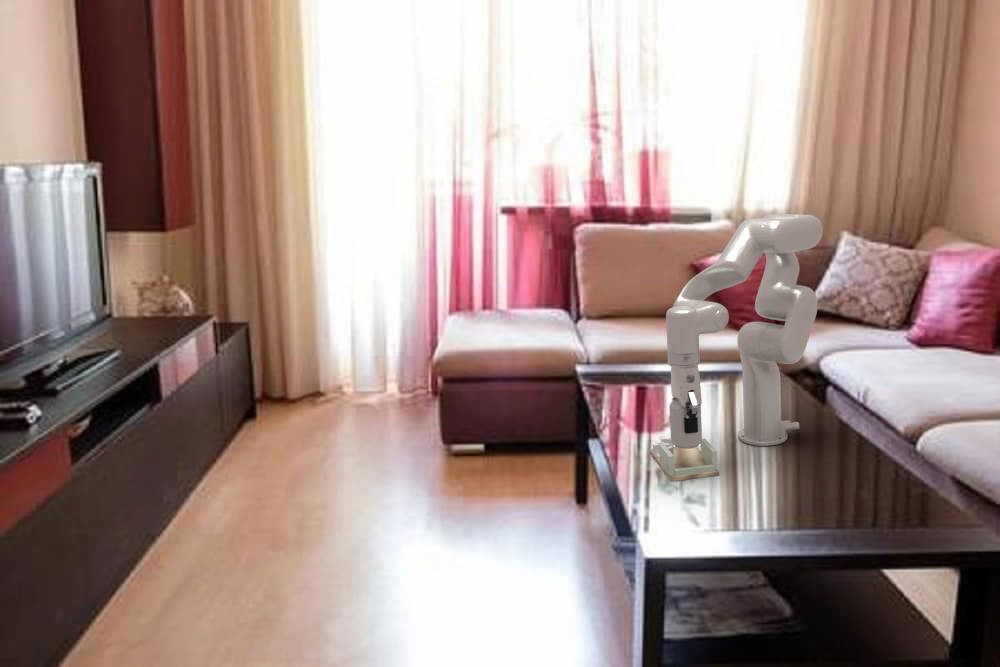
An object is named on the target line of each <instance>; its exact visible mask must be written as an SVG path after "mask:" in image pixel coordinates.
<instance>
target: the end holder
mask: <svg viewBox="0 0 1000 667" xmlns="http://www.w3.org/2000/svg"><path fill="white" fill-rule="evenodd" d="M700 451H701V458H702V459H703V460H704V461H705V462H706V464H707V465H704V466H696V467H688V468H680V469H675V468H674V456H673V454H672V453H671V452H670V451H669V449H668V448H667V447H666V446H665V445H664V443H663V444H659V456H660V464H661V465H662V466H663V467H664V469H665V470H666V471H667V473H668V474H669V475H670V476H684V475H692V474H700V473H708V472H714V471H715V470H718V471H719V468H718V450H717V448H715V447H714V445H712V444H711V443H710V442H709V441H708V440H707V439H706V438H702V443H700Z"/></svg>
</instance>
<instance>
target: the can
mask: <svg viewBox="0 0 1000 667" xmlns="http://www.w3.org/2000/svg"><path fill="white" fill-rule="evenodd" d="M686 405H690V402H688V403H686ZM687 409H688V412H689V409H691V408H687ZM697 411H698V412H697V414H698V432H697V433H690V434H686V433H685V432H684V417H685V412H684V407H682V406H681V405H680V403H679V402H677V401H676V400H675V398H674V397H672V398H671V401H670V404H669V425H670V426H669V427H670V438H671V443H672V444H674V447H678V448H682V449H691V448H695V447H697V448H698V447H699V445H701V443H702V439H703V431H702V430H703V428H702V427H703V425H702V404H701V405H700V406H698V409H697Z"/></svg>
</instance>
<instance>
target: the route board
mask: <svg viewBox="0 0 1000 667" xmlns="http://www.w3.org/2000/svg"><path fill="white" fill-rule="evenodd" d="M649 454H650V456H652V458H653V459H654V461H655V462H656V463H657V465H658V466H659V467H660V469H661V470H662V471H663V473H664V474H665V476H666V477H667V478H668V479H669V481H670V482H677V481H678V482H679V481H685V480H687V481H688V480H694V479H702V478H709V477H710V478H712V477H717V476H716V475H719V476H720V470H719V469H718V470H715V471H714V472H708V473H700V474H692V475H684V476H670V475H669V474H668V473H667V471H666V470H665V469H664V467H663V466H662V465H661V464H660V459H659V458H657V457H655V456H653V448H652V449H649ZM704 465H707V464H706V462H705V461H704V460H703V459H702V458H701V449H699V448H698V446H697V447H695V448H691V449H682V448H678V447H676V446H674V468H675V469H680V468H688V467H696V466H704Z"/></svg>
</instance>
